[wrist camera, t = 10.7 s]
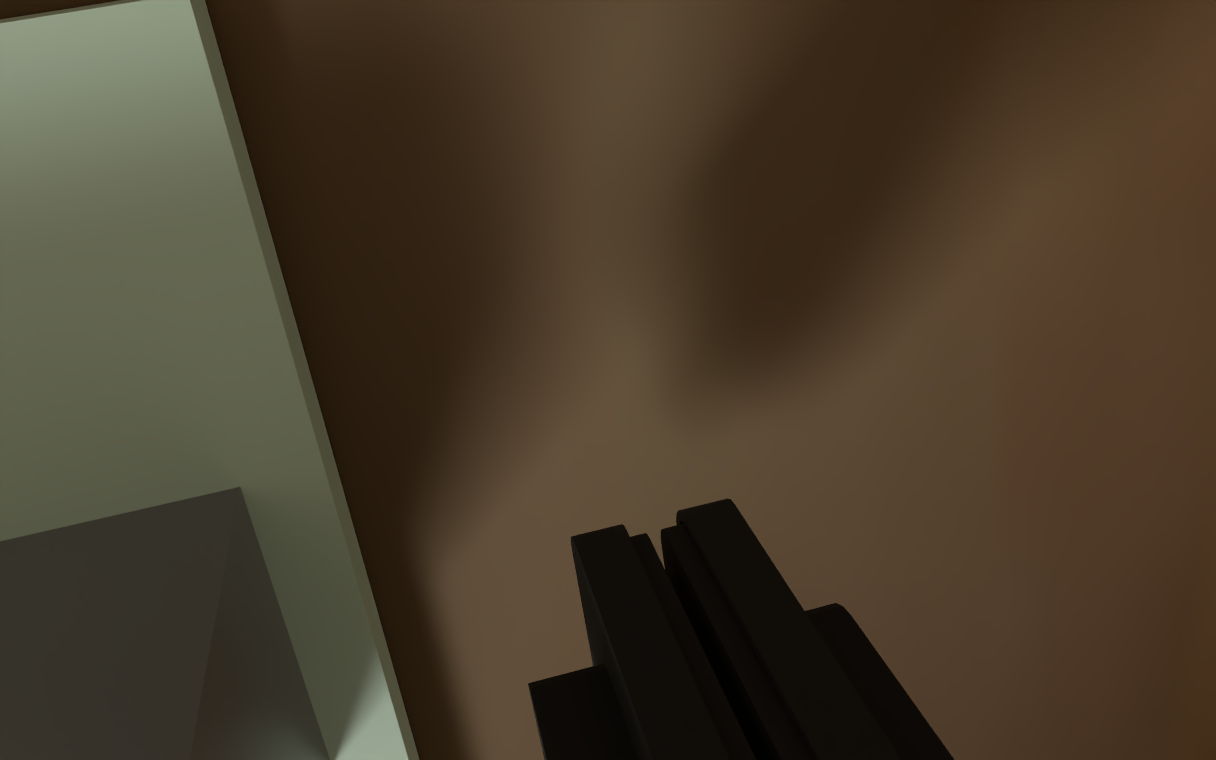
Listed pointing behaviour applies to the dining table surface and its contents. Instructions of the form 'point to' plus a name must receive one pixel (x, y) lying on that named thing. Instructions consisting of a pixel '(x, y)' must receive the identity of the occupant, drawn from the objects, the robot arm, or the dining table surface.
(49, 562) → the plug
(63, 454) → the board
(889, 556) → the dining table surface
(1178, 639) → the dining table surface
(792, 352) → the dining table surface
